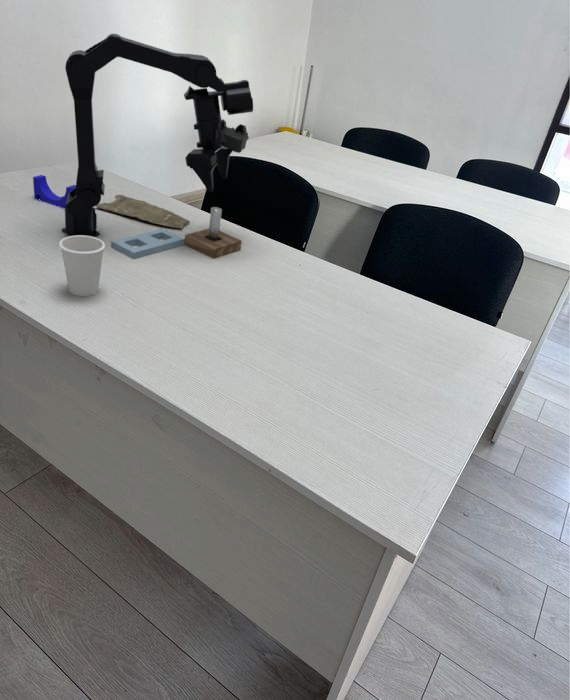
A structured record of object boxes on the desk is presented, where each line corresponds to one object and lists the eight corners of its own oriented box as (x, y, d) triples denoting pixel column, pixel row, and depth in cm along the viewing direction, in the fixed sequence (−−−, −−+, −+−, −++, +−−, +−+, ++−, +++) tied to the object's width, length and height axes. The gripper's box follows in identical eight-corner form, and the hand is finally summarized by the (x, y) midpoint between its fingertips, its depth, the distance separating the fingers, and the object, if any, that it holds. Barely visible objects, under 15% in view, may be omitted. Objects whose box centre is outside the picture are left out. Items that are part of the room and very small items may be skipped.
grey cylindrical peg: (212, 250, 145) (216, 211, 139) (205, 246, 146) (208, 208, 140) (219, 247, 146) (224, 209, 141) (212, 244, 148) (216, 206, 142)
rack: (133, 258, 133) (133, 252, 132) (111, 246, 137) (111, 240, 136) (184, 244, 145) (184, 238, 144) (162, 233, 148) (162, 228, 147)
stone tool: (93, 210, 155) (176, 234, 150) (93, 199, 154) (177, 224, 149) (116, 200, 164) (195, 223, 160) (116, 190, 163) (196, 213, 158)
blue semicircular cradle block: (83, 207, 155) (82, 185, 152) (71, 211, 152) (71, 188, 149) (46, 195, 158) (45, 173, 155) (34, 199, 155) (32, 177, 151)
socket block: (213, 258, 140) (214, 249, 139) (184, 244, 145) (184, 234, 143) (240, 249, 147) (241, 240, 146) (211, 236, 152) (212, 227, 151)
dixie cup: (59, 281, 119) (57, 235, 113) (101, 279, 122) (101, 234, 117) (63, 300, 112) (61, 252, 107) (108, 298, 116) (108, 251, 111)
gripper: (226, 128, 123) (235, 199, 132) (254, 107, 138) (260, 172, 147) (179, 128, 126) (190, 198, 135) (211, 107, 141) (219, 171, 150)
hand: (217, 184), depth 142 cm, fingers open, 9 cm apart
